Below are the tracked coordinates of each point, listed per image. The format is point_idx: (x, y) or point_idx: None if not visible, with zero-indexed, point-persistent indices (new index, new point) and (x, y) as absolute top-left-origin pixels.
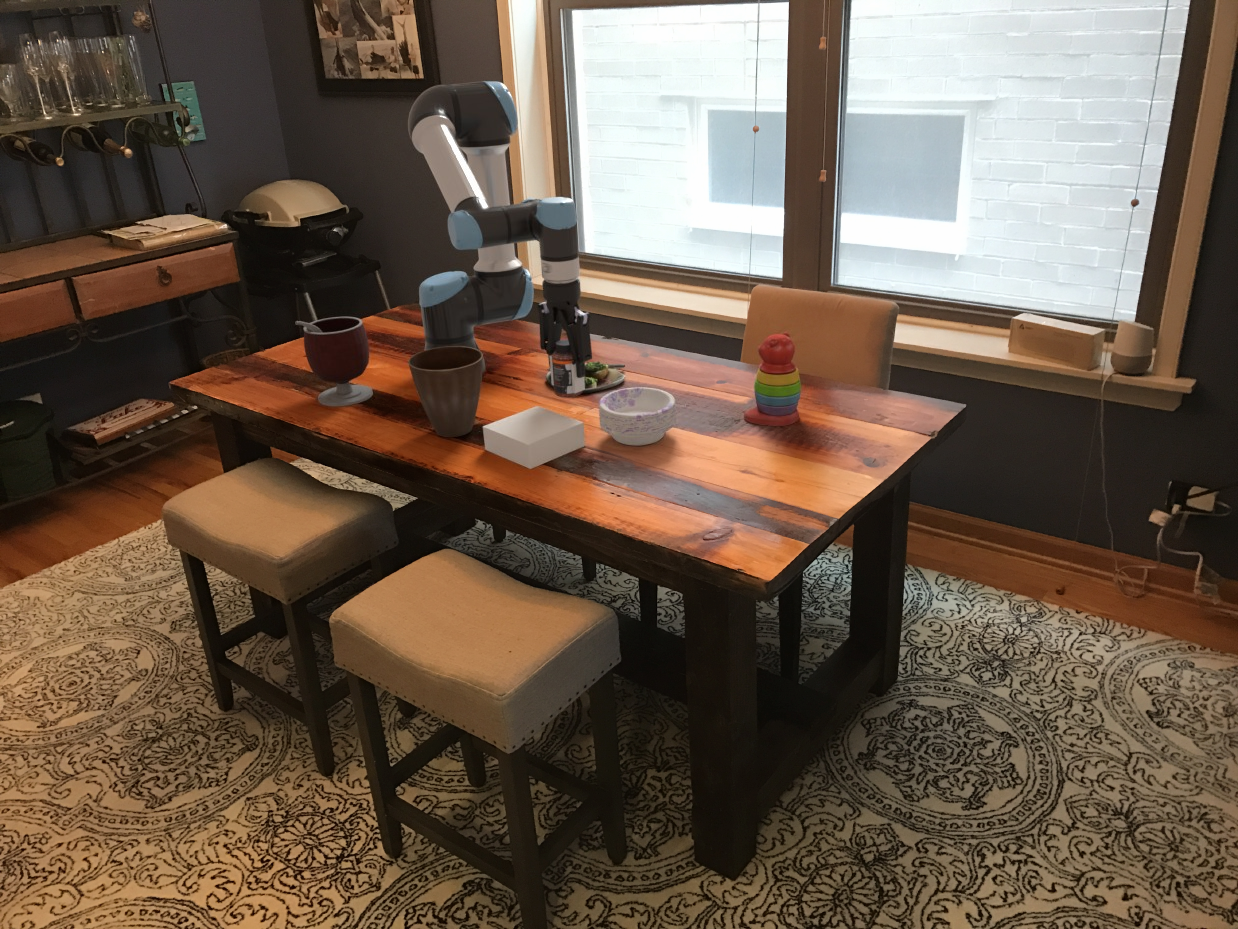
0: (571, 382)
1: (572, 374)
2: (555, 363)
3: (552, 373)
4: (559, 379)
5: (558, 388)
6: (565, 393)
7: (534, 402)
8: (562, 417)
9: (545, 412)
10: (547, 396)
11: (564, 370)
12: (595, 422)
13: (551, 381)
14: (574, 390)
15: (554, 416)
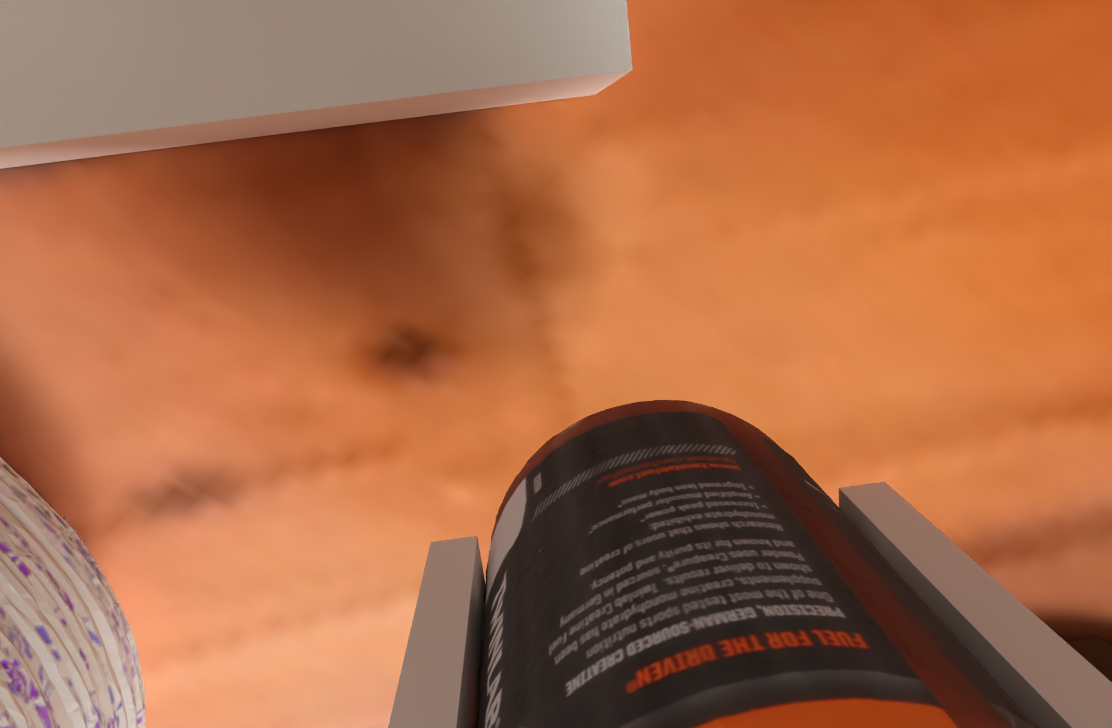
0: (491, 615)
1: (436, 722)
2: (800, 694)
3: (943, 576)
4: (628, 514)
5: (634, 439)
6: (539, 463)
7: (1093, 398)
8: (48, 75)
9: (356, 10)
10: (1100, 538)
11: (547, 685)
12: (377, 521)
13: (908, 503)
14: (440, 560)
15: (147, 15)
